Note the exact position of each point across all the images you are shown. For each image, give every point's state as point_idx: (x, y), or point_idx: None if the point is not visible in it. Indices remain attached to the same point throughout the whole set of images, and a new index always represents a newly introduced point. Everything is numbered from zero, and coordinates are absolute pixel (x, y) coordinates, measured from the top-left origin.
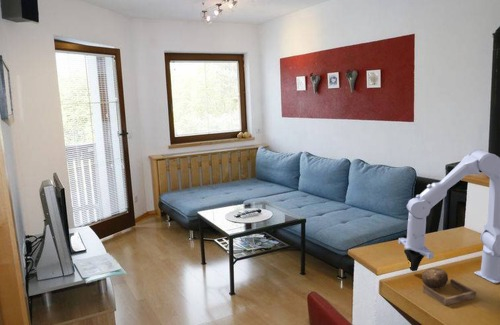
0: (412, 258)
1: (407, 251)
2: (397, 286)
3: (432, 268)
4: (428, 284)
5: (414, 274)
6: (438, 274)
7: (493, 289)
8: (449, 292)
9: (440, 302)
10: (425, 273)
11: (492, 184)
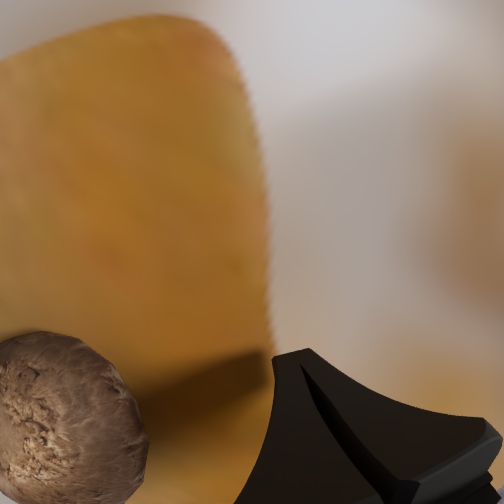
0: (281, 469)
1: (443, 481)
2: (83, 78)
3: (83, 495)
4: (4, 342)
5: (269, 356)
6: None
7: None
8: None
9: None
10: (41, 406)
11: None
